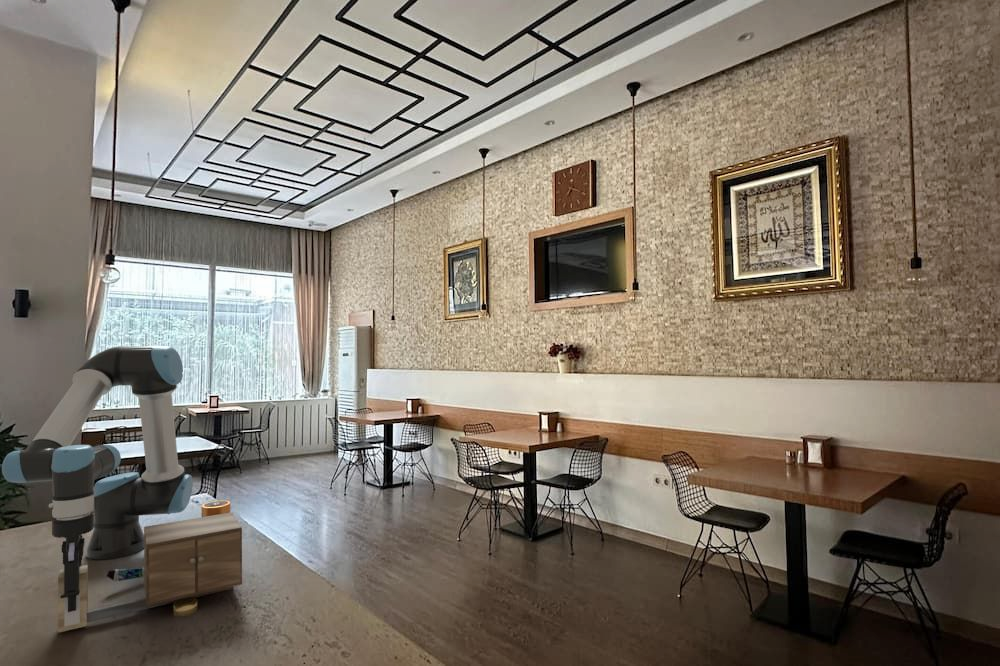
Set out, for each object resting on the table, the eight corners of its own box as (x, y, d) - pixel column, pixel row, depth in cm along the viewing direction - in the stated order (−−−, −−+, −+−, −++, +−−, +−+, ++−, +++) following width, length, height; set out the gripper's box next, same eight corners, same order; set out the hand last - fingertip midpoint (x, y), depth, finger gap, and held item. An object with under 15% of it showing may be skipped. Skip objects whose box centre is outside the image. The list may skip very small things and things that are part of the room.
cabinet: (144, 601, 139) (144, 526, 139) (232, 581, 150) (232, 512, 150) (146, 628, 125) (146, 546, 126) (243, 604, 137) (242, 528, 137)
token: (172, 611, 134) (172, 601, 134) (196, 605, 137) (196, 595, 137) (174, 619, 130) (174, 609, 130) (198, 613, 133) (198, 603, 133)
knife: (106, 588, 143) (108, 570, 144) (104, 585, 146) (106, 567, 146) (230, 567, 164) (232, 552, 165) (227, 564, 167) (228, 549, 167)
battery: (225, 579, 151) (225, 505, 152) (197, 581, 150) (197, 507, 150) (234, 569, 158) (233, 498, 159) (207, 571, 157) (206, 499, 158)
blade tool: (60, 623, 126) (60, 569, 126) (168, 598, 138) (167, 549, 138) (58, 632, 122) (58, 577, 122) (169, 606, 134) (169, 556, 134)
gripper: (56, 508, 131) (56, 608, 131) (47, 529, 116) (47, 642, 116) (95, 503, 135) (95, 599, 135) (91, 522, 120) (91, 631, 120)
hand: (73, 618), depth 126 cm, fingers closed on blade tool, 5 cm apart
